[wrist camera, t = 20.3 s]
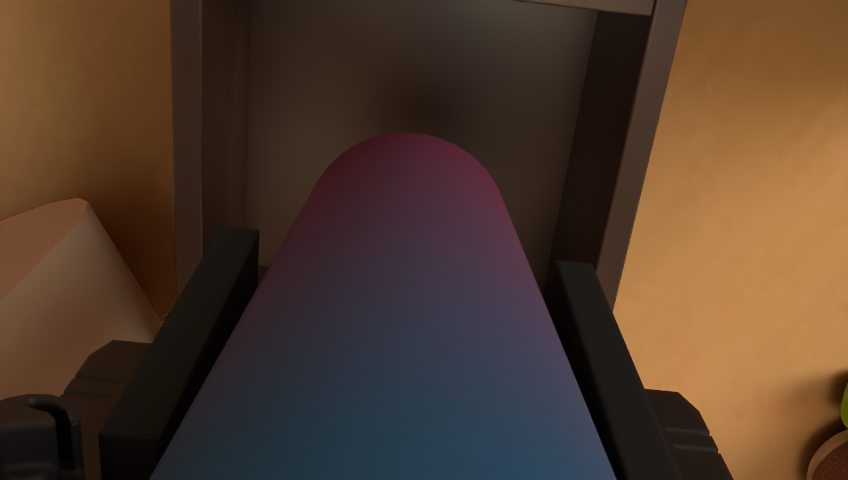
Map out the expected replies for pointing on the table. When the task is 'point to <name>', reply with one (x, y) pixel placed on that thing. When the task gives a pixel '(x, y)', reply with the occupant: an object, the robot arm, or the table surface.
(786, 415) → the table surface
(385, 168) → the cup
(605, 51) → the walnut box
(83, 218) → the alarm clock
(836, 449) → the toy car
